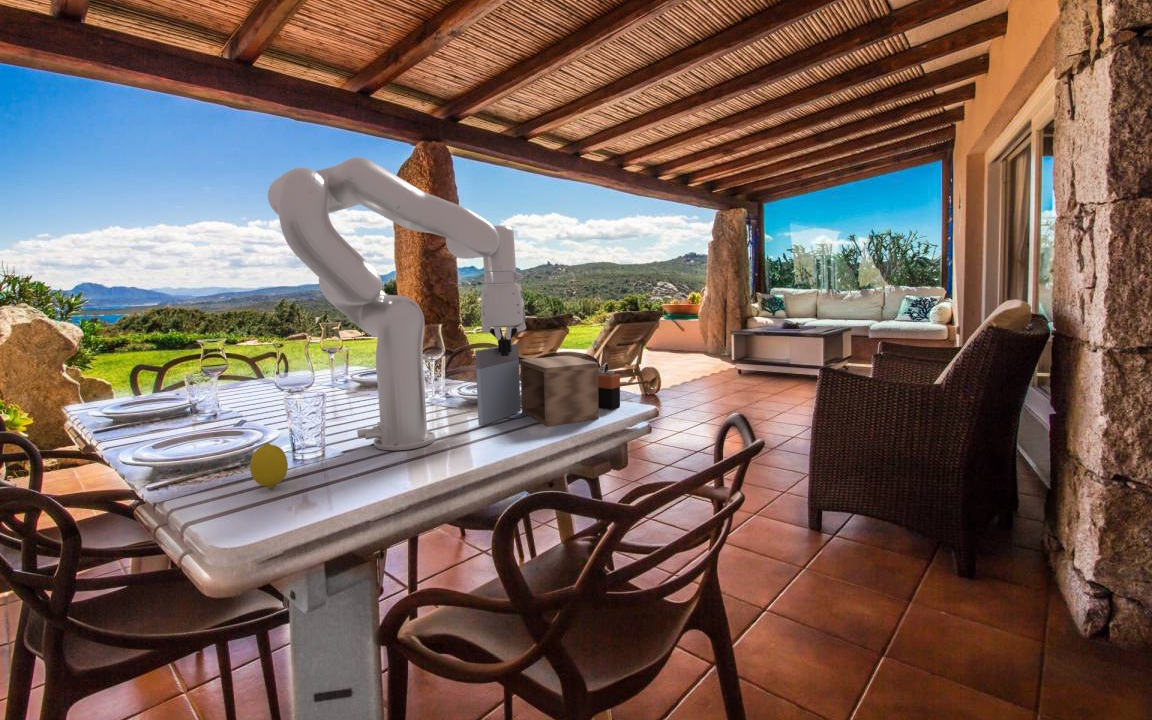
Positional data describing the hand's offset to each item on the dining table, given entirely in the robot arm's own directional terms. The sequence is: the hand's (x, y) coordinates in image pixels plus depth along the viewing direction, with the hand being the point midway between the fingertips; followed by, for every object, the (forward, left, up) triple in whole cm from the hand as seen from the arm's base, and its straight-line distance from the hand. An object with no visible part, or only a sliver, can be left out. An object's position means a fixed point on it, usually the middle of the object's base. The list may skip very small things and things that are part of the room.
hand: (505, 355), depth 134 cm
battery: (+28, 0, -17) cm, 33 cm away
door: (-1, +2, -16) cm, 16 cm away
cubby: (+13, -2, -16) cm, 21 cm away
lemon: (-51, -22, -17) cm, 58 cm away
